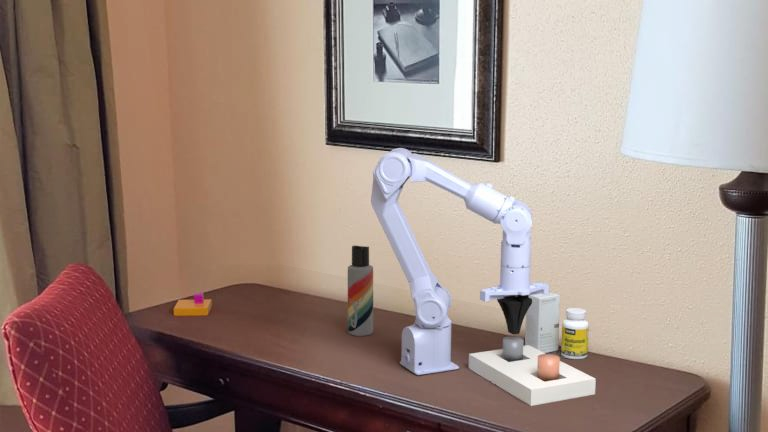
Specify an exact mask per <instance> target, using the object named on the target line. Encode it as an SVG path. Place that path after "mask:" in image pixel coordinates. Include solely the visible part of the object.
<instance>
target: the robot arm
mask: <svg viewBox="0 0 768 432" xmlns="http://www.w3.org/2000/svg"><path fill="white" fill-rule="evenodd" d="M372 178H373V179H372V186H371V188H372V189H371V196H370V204H371V206H372V209H373V211H374V213H375V215H376V218H377V219H378V221H379V223H380V226H381V227H382V229H383V231H384V234H385V235H386V238H387V240H388V242H389V244H390V247H391V248H392V251H393V252H394V254H395V256H396V259H397V261H398V263H399V265H400V267H401V270H402V271H403V273H404V276H405V278H406V279H407V282H408V284H409V289H410V295H411V298H412V300H413V303H414V316H415V319H414V323H412V324H411V325H408V326H405V327H404V328H403V329H402V333H401V357H400V359H401V360H400V361H399V364H400V365H401V366H403V367H404V368H406V369H407V370H409V371H410V372H411V373H413V374H414V375H416V376H421V375H426V374H427V375H429V374H434V373H441V372H449V371H454V370H459V368H460V367H459V365H458V364H455V363H454V362H453V361H451V359H452V357H451V355H452V354H451V352H452V320H451V318H449V316H448V311H449V310H450V308H451V306H452V296H451V293H450V292H449V290H448V289H447V288H445V287H444V286H443V285H442V284H441V283H440V282H439V281H440V280H439V278H438V277H437V276H436V275H435V274H434V273H433V271H432V270H431V267H430V266H429V264H428V262H427V260H426V257H425V255H424V253H423V251H422V249H421V247H420V245H419V242H418V240H417V237H416V236H415V234H414V231H413V230H412V228H411V226H410V224H409V222H408V220H407V217H406V215H405V213H404V211H403V209H402V207H401V205H400V203H399V198H400V195H401V193H402V192H403V191H402V190H403V188H404V185H405V184H406V182H407V181H409V180H410V181H409V183H417V182H419V183H422V182H427V183H430V184H432V185H434V186H436V187H438V188H440V189H442V190H444V191H446V192H448V193H450V194H452V195H454V196H456V197H459V198H460V199H463V202H464V203H465V208H466V209H468V210H469V211H471V212H473V213H475V214H476V215H478V216H479V217H482V218H484V219H485V220H488V221H489V222H491V223H493V224H495V225H496V224H497V225H498V224H499V225H500V226H501V229H502V240H501V242H500V269H499V270H500V271H499V272H500V276H499V277H500V279H499V284H498V285H497V286H496V285H495V286H493V287H489V288H483V289H480V290H479V301H480V300H481V301H482V302H485V303H487V302H490V301H494V300H496V302H497V303H498V304H499V306H500V308H501V311H502V313H503V315H504V320H505V323H506V327H507V333H509V334H511V335H515V336H516V335H520V331H521V329H522V325H523V322H524V319H525V318H526V312H527V311H528V309H529V307H530V306H531V304H532V299H531V298H529V295H536V294H549V292H550V291H549V289H550V285H549V284H548V283H545V282H531V257H532V255H531V254H532V242H531V237H532V233H531V229H532V226H533V213H532V211H531V209H530V207H529V206H528V205H527V204H526V203H524V202H523V201H522V200H516V197H515V196H513V195H510V196H508V195H506V194H503V193H502V192H500V191H498V190H496V189H494V188H493V187H494V185H493V184H492V183H490V182H487V183H483V182H476V183H473V184H471V183H469V182H467V181H466V180H464V179H463V178H461V177H459V176H458V175H456V174H454V173H452V172H451V171H449V170H447V169H446V168H445V167H443V166H441V165H440V164H437V163H436V162H434V161H433V160H430V159H429V158H426V157H424V156H422V155H421V154H418V153H416V152H414V153H412V152H411V151H410V150H408V149H406V148H403V147H398V148H397V147H396V148H393V149H392V150H390V151H389V152H386V153H385V154H383V155H382V156H381V157H380V158H379V160H378V162H377V164H376V166H375V167H374V169H373V171H372Z"/></svg>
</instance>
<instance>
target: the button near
mask: <svg viewBox="0 0 768 432" xmlns="http://www.w3.org/2000/svg"><path fill="white" fill-rule="evenodd" d="M560 358H561V357H560V356H558V355H557V354H554V353H553V354H552V353H545V354H541V355H539V356H538V364H537V378H539V379H540V380H542V381H545V382H546V381H552V380H558V379H559V366H560V361H561V359H560Z"/></svg>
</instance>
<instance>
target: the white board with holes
mask: <svg viewBox="0 0 768 432" xmlns="http://www.w3.org/2000/svg"><path fill="white" fill-rule="evenodd" d="M541 354H546V353H543V352H541V351H539V350H537V349H535V348H533V347H531V346H529V345H526V346H525V345H523V360H519V361H513V362H508V361H506V360H504V359H502V356H503V348H501V349H500V348H499V349H493V350H487V351H486V350H485V351H479V352H474V353H473V352H472V353H468V369H469V370H471V371H472V372H474V373H476V374H477V375H479V376H480V377H482V378H484V379H485V380H487V381H489V382H490V381H491V382H490V383H492V384H494V385H495V384H496V385H495V386H497V387H499V388H500V389H502V390H504V391H506V392H507V393H508V394H511V395H512V396H514V397H515V398H517V399H518V400H520V401H522V402H523V403H526V404H527V405H529V406H530V407H533V406H538V405H544V404H549V403H554V402H560V401H565V400H570V399H571V400H572V399H577V398H581V397H582V398H583V397H588V396H593V395H596V383H597V382H596V378H595V377H593V376H591V375H590V374H587V373H586V372H583V371H582V370H580V369H577V368H575V367H573V366H571V365H570V364H567V363H566V362H563V361H561V360H560V366H559V379H558V380H552V381H546V382H545V381H542V380H540V379H539V378H537V364H538V356H539V355H541Z"/></svg>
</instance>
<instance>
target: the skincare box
mask: <svg viewBox="0 0 768 432" xmlns="http://www.w3.org/2000/svg"><path fill="white" fill-rule="evenodd" d="M529 298H531V299H532V304H531V306H530V307H529V309H528V311H527V312H526V315H525V327H524V328H525V331H524V333H525V336H524V346H526V345H529V346H531V347H533V348H535V349H537V350H539V351H541V352H543V353H545V354H549V353H552V352H557V351H558V350H559V340H560V339H559V336H560V310H561V309H560V307H561V306H560V304H561V295H560V294H558V293H554V292H551V291H549V294H536V295H529Z"/></svg>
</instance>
